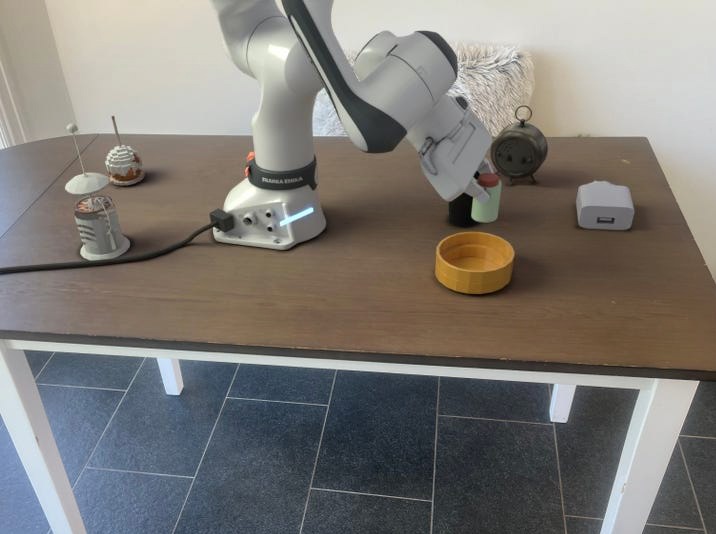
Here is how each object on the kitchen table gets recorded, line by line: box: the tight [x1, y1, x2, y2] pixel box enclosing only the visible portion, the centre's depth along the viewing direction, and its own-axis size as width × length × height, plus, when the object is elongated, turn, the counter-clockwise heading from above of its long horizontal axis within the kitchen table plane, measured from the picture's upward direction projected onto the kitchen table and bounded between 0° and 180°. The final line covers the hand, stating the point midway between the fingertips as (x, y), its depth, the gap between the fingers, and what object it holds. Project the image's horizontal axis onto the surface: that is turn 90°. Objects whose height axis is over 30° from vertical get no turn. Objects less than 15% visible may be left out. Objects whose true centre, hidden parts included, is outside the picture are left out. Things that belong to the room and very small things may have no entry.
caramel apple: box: [104, 114, 146, 186], centre depth 159 cm, size 8×8×15 cm
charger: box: [575, 180, 635, 231], centre depth 138 cm, size 5×9×15 cm
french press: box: [64, 123, 131, 261], centre depth 132 cm, size 10×12×25 cm
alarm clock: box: [489, 104, 549, 186], centre depth 146 cm, size 11×5×16 cm, turn 58°
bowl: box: [434, 231, 516, 295], centre depth 124 cm, size 13×13×5 cm
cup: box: [447, 171, 480, 228], centre depth 136 cm, size 8×8×12 cm
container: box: [471, 172, 503, 223], centre depth 115 cm, size 4×4×7 cm
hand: (490, 192), depth 115 cm, fingers closed on container, 4 cm apart
